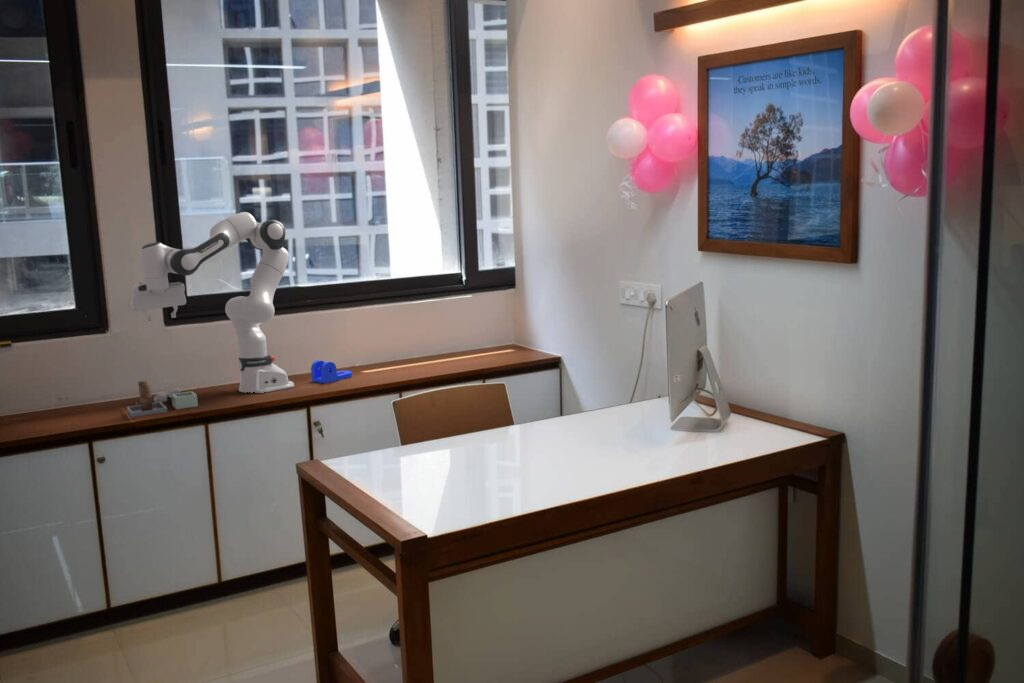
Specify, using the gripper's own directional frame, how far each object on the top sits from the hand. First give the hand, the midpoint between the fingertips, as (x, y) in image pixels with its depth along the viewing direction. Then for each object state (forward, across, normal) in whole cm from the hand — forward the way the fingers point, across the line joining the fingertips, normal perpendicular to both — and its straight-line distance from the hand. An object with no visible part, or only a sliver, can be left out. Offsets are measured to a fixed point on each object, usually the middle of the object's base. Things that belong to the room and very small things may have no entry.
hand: (161, 319), depth 366 cm
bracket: (+36, -67, +2) cm, 76 cm away
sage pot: (+34, -2, +16) cm, 37 cm away
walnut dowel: (+32, +12, +16) cm, 38 cm away
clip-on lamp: (+34, +5, +5) cm, 35 cm away
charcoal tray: (+33, +12, +16) cm, 39 cm away
